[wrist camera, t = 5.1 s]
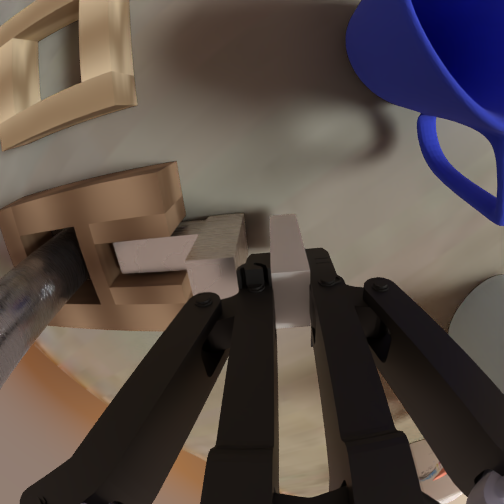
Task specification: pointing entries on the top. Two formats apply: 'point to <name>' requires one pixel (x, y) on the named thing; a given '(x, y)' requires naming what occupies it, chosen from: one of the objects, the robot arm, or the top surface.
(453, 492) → the ink box
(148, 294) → the socket block
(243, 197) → the top surface
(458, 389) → the robot arm
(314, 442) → the top surface
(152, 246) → the drift key
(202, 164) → the top surface
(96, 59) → the frame
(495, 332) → the mug
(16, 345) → the peg
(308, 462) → the top surface
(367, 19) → the mug
